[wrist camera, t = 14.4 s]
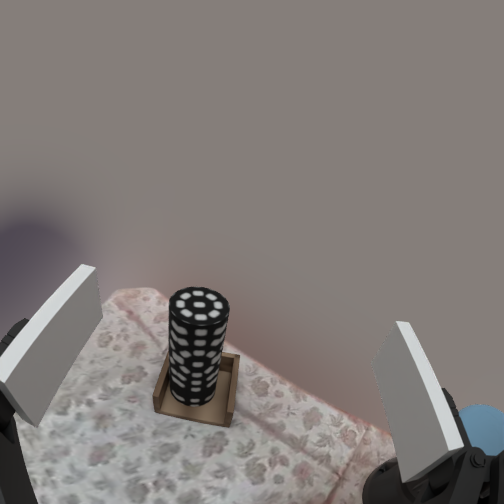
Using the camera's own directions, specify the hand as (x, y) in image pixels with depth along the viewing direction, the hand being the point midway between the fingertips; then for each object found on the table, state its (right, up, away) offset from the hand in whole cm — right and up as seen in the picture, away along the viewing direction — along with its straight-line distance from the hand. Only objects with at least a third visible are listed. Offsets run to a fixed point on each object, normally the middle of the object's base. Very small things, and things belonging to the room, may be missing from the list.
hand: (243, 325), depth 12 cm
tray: (-10, -23, +36) cm, 44 cm away
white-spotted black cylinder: (-10, -22, +36) cm, 43 cm away
